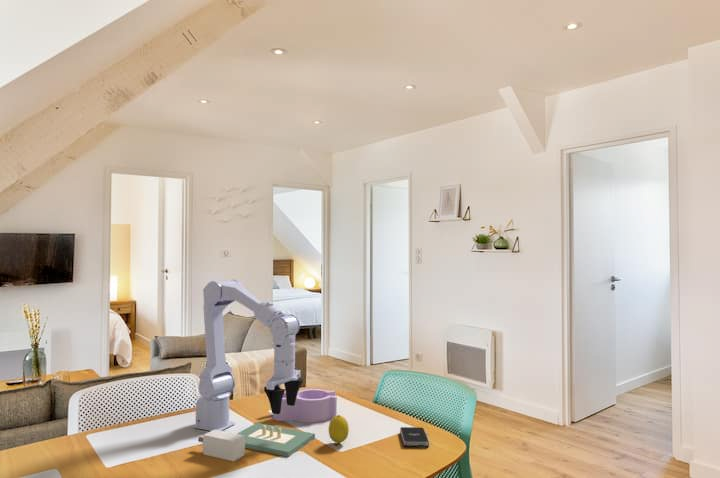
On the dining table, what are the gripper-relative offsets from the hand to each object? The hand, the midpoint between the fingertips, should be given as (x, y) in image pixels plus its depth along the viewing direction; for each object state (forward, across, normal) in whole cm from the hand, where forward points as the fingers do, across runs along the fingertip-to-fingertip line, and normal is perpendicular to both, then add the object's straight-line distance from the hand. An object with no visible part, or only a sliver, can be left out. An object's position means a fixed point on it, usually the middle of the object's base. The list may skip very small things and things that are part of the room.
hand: (283, 409), depth 135 cm
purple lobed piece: (+10, +23, +6) cm, 26 cm away
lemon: (+10, +7, -14) cm, 18 cm away
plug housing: (+10, -12, +12) cm, 20 cm away
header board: (+10, +1, +4) cm, 11 cm away
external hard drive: (+10, +19, -32) cm, 38 cm away
